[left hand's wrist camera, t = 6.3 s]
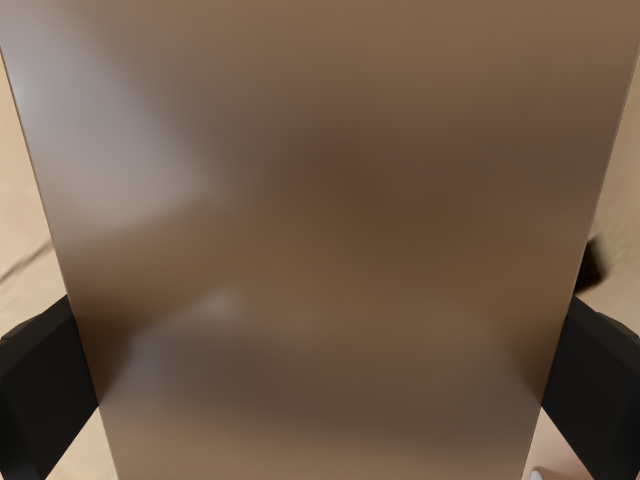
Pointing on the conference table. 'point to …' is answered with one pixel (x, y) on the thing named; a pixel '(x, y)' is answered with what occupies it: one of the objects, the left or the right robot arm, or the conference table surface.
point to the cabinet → (319, 220)
